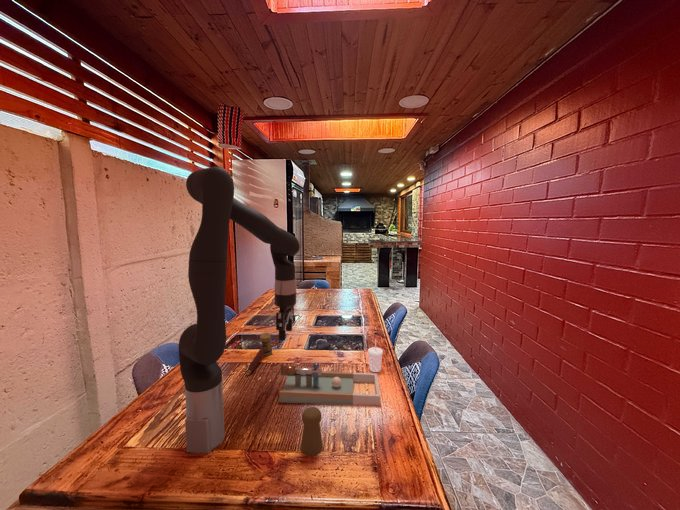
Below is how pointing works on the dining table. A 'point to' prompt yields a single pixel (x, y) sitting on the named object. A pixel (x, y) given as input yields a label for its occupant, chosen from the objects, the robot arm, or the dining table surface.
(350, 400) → the pitch board
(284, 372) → the rod
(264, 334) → the gavel
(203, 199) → the robot arm
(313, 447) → the pepper mill
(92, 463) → the dining table surface
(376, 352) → the beverage cup
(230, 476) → the dining table surface
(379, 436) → the dining table surface
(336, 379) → the ball
